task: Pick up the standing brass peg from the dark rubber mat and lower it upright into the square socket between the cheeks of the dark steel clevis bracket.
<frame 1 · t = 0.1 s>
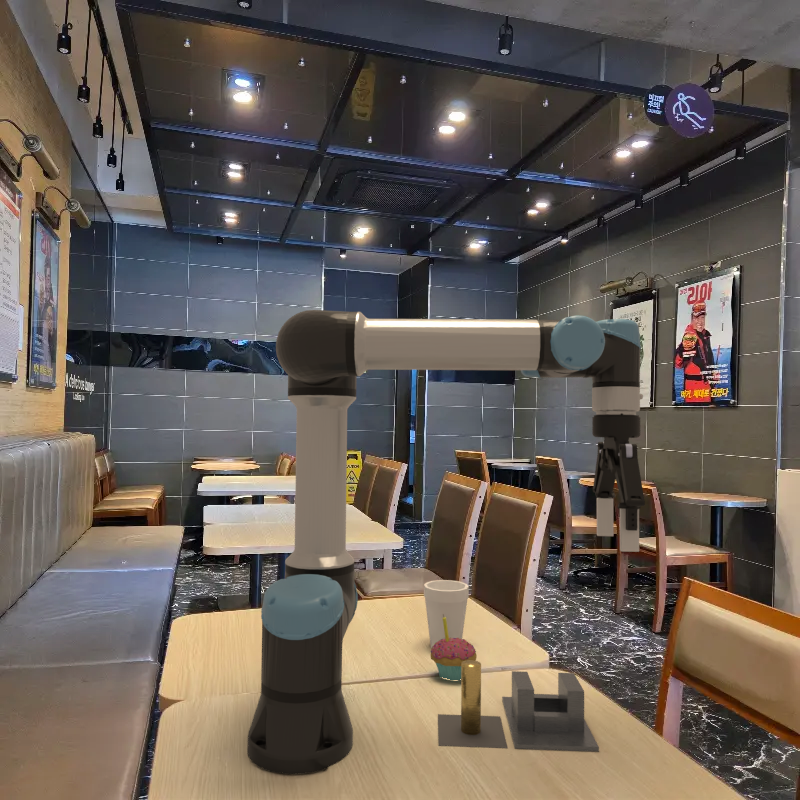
hand: (616, 543, 104), 28 cm above the table, fingers open, 13 cm apart
foam cup: (445, 648, 133), on the table
bracket: (546, 726, 99), on the table
cupcake: (453, 679, 117), on the table
mat: (470, 732, 96), on the table
peg: (470, 730, 96), resting on mat
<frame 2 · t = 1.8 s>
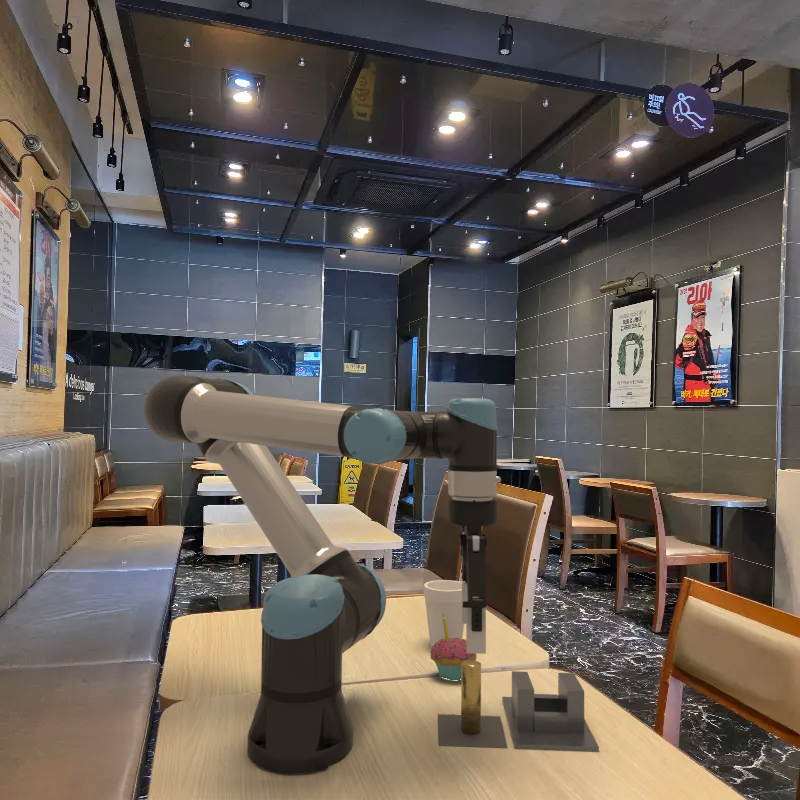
hand: (472, 637, 97), 14 cm above the table, fingers open, 13 cm apart
nothing on the table moved.
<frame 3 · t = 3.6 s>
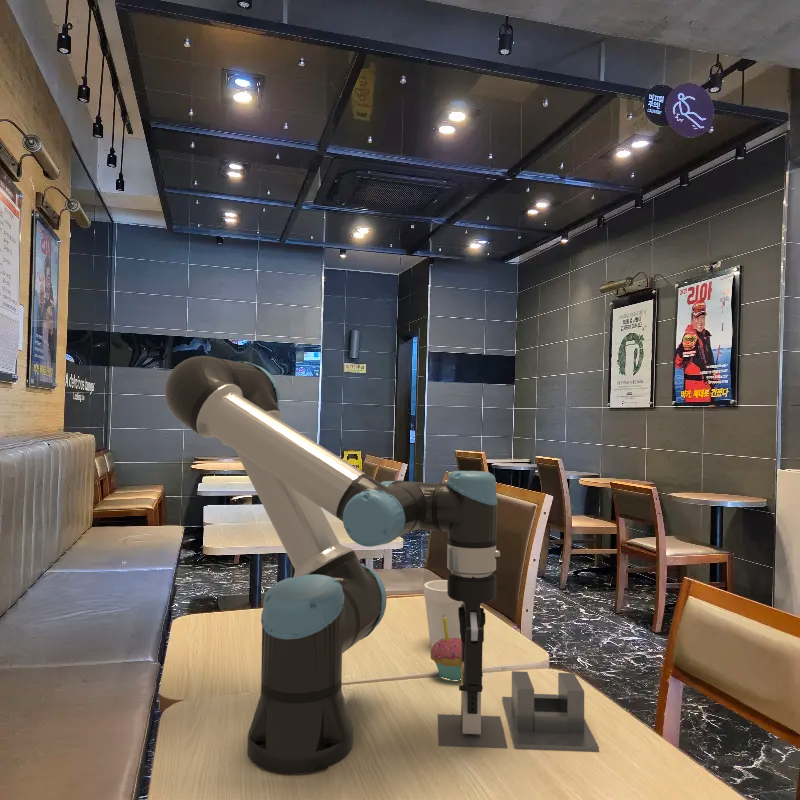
hand: (470, 726, 96), 1 cm above the table, fingers closed on peg, 3 cm apart
peg: (470, 730, 96), resting on mat, touching gripper
everything else where it was.
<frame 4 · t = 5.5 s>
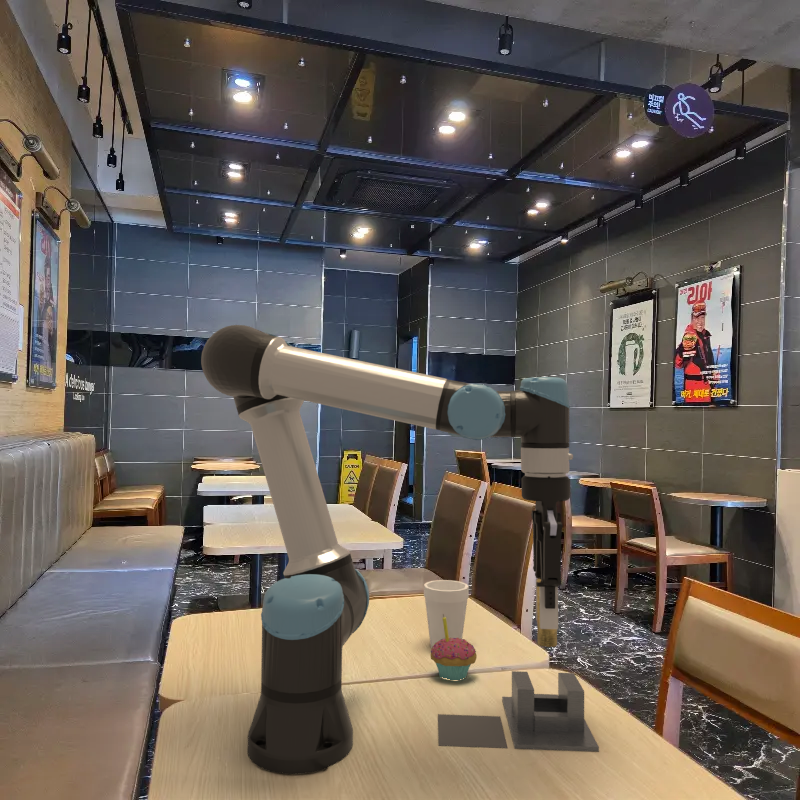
hand: (546, 624, 99), 16 cm above the table, fingers closed on peg, 3 cm apart
peg: (547, 643, 99), point 13 cm above the table, touching gripper
everything else where it was.
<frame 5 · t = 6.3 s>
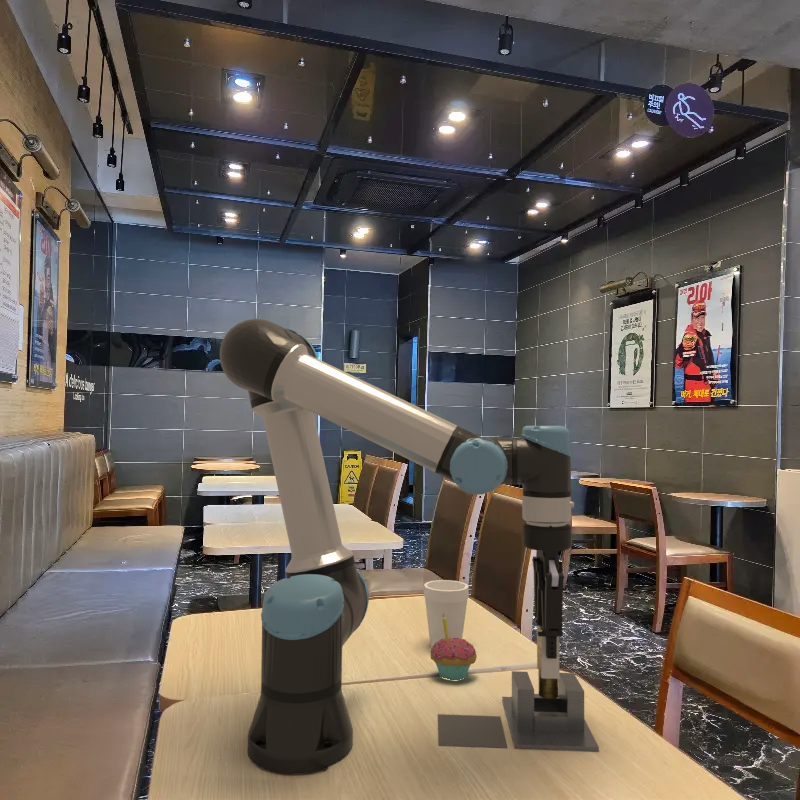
hand: (548, 672, 99), 8 cm above the table, fingers closed on peg, 3 cm apart
peg: (548, 694, 99), point 5 cm above the table, touching gripper
everything else where it was.
when the fingers open (5 cm above the table, at t = 7.2 s): peg stays where it is, resting on bracket.
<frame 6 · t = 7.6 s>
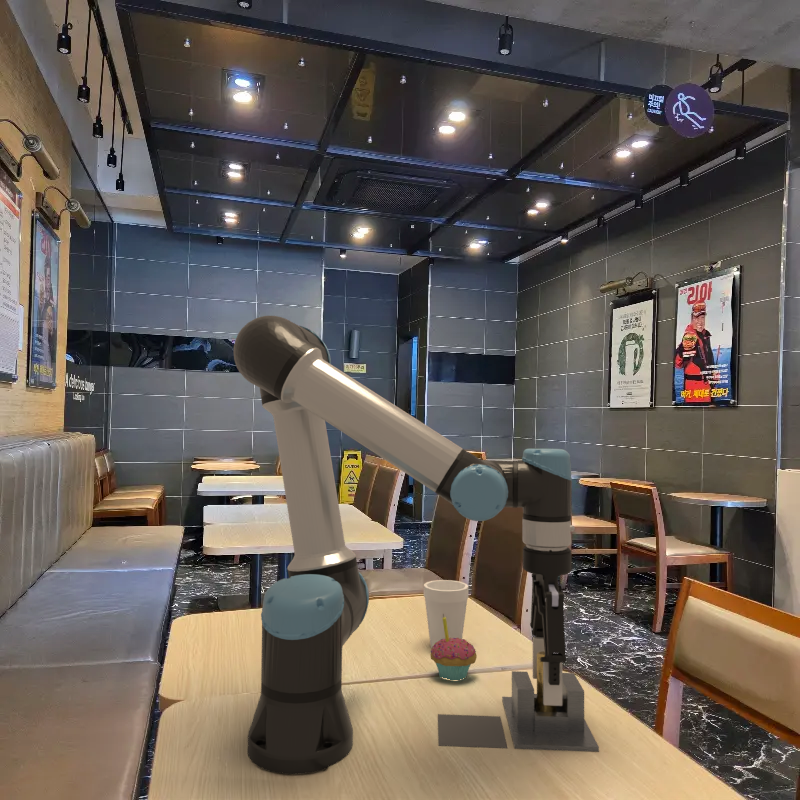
hand: (546, 690, 99), 6 cm above the table, fingers open, 9 cm apart
peg: (546, 719, 99), point 1 cm above the table, touching bracket
everything else where it was.
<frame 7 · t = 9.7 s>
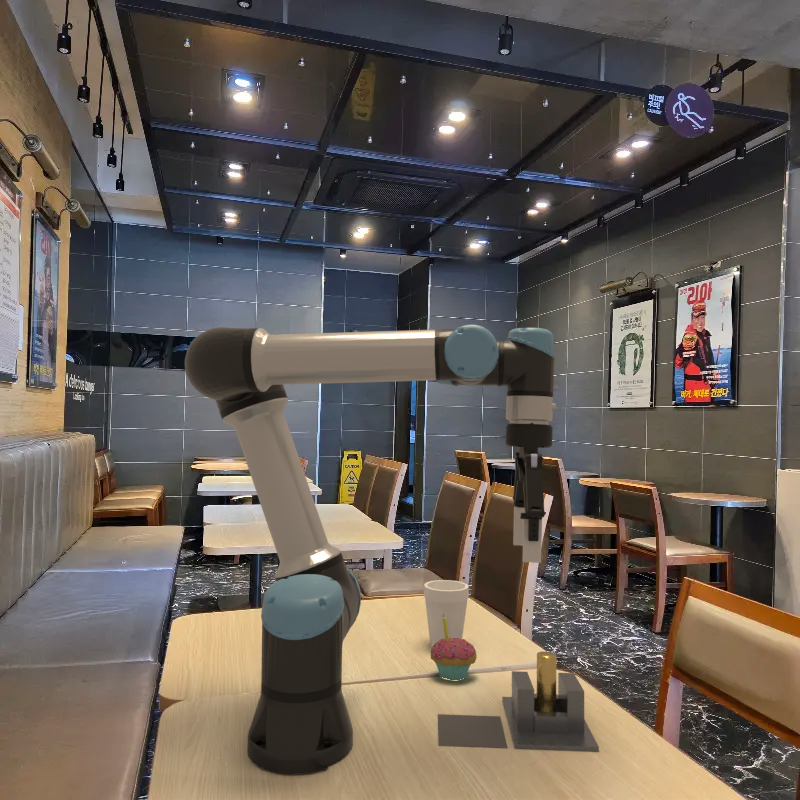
hand: (526, 553, 103), 26 cm above the table, fingers open, 13 cm apart
nothing on the table moved.
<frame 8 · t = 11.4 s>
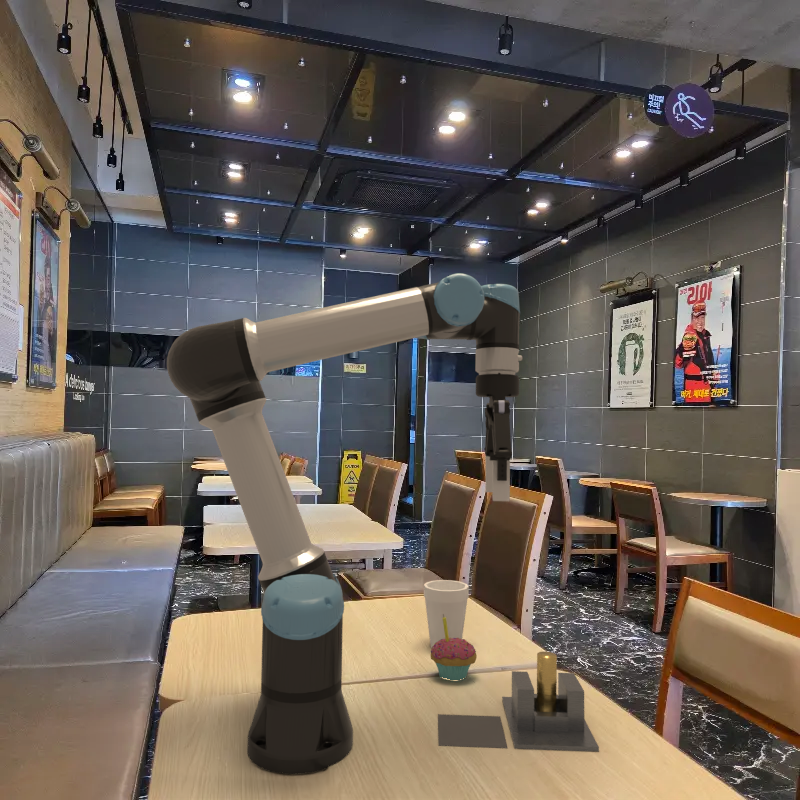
hand: (496, 496, 110), 35 cm above the table, fingers open, 13 cm apart
nothing on the table moved.
at the end: peg 0.1 cm off-centre on the bracket, point 1.0 cm above the bracket's base; peg tilted 0°; the gripper is holding nothing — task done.
